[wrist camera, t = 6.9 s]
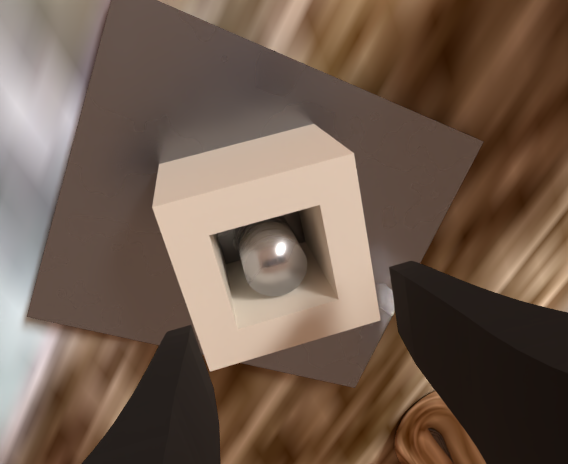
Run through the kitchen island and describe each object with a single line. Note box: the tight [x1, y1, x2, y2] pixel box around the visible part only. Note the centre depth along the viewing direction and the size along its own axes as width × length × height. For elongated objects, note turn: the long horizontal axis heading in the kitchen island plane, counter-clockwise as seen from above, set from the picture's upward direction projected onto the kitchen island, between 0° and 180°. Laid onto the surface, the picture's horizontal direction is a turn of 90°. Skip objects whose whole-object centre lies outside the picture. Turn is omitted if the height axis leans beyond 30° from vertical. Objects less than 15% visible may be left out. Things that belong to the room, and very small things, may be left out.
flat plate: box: [27, 0, 483, 388], centre depth 18 cm, size 14×12×4 cm
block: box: [152, 124, 381, 371], centre depth 16 cm, size 6×6×4 cm
